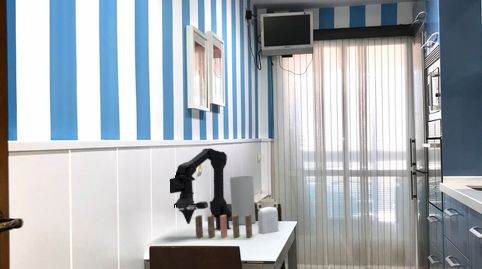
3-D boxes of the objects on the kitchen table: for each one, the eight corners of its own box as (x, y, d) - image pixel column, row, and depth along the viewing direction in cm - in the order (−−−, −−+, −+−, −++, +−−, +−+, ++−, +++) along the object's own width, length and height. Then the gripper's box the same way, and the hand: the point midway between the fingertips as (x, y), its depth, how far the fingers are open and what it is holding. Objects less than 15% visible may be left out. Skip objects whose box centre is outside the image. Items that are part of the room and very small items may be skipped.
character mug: (277, 222, 271) (276, 198, 271) (279, 224, 264) (278, 199, 264) (257, 224, 270) (255, 199, 270) (258, 226, 263) (257, 201, 263)
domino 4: (246, 238, 230) (245, 216, 230) (248, 236, 235) (247, 214, 235) (249, 238, 230) (248, 216, 230) (252, 236, 234) (251, 214, 235)
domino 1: (196, 238, 236) (195, 217, 236) (199, 236, 241) (198, 215, 241) (199, 238, 236) (198, 217, 236) (203, 236, 240) (201, 215, 240)
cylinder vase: (244, 220, 284) (242, 176, 284) (260, 222, 275) (257, 176, 275) (227, 224, 275) (225, 178, 276) (243, 226, 266) (240, 178, 266)
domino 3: (233, 238, 231) (232, 216, 232) (236, 236, 236) (235, 214, 236) (236, 238, 231) (235, 216, 231) (239, 236, 236) (238, 214, 236)
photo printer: (274, 230, 247) (273, 205, 247) (280, 231, 244) (278, 206, 244) (257, 234, 241) (256, 208, 242) (262, 235, 238) (261, 208, 238)
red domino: (221, 238, 233) (219, 216, 233) (224, 236, 238) (222, 214, 238) (224, 238, 233) (223, 216, 233) (227, 236, 237) (226, 214, 238)
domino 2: (208, 238, 234) (207, 216, 235) (211, 236, 239) (210, 215, 239) (211, 238, 234) (210, 216, 234) (215, 236, 239) (213, 215, 239)
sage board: (191, 241, 232) (190, 240, 232) (200, 235, 245) (200, 234, 245) (250, 241, 225) (250, 239, 225) (256, 235, 238) (256, 234, 238)
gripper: (161, 193, 234) (163, 227, 234) (199, 192, 230) (201, 226, 229) (170, 190, 245) (172, 223, 245) (207, 189, 240) (209, 222, 240)
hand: (188, 223), depth 240 cm, fingers closed
